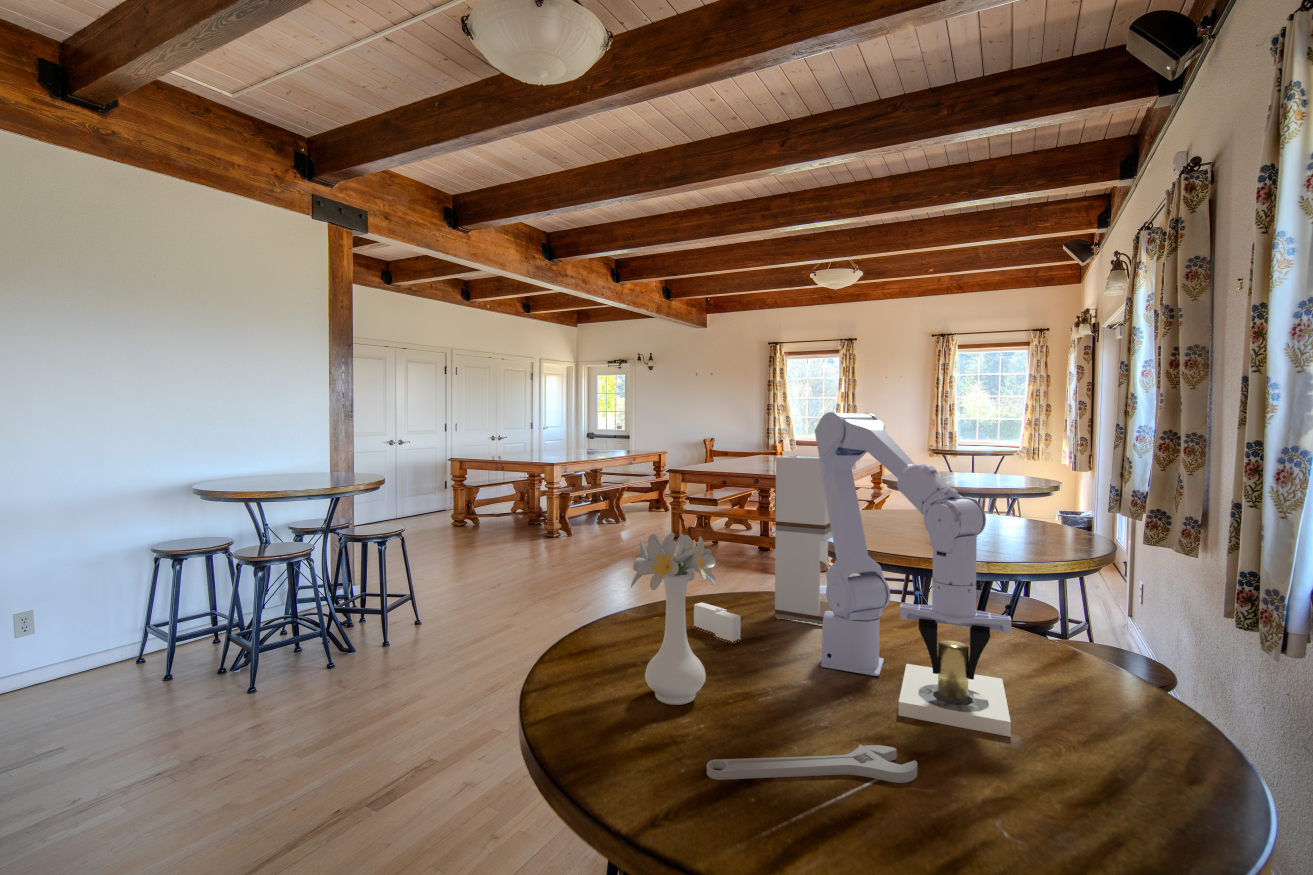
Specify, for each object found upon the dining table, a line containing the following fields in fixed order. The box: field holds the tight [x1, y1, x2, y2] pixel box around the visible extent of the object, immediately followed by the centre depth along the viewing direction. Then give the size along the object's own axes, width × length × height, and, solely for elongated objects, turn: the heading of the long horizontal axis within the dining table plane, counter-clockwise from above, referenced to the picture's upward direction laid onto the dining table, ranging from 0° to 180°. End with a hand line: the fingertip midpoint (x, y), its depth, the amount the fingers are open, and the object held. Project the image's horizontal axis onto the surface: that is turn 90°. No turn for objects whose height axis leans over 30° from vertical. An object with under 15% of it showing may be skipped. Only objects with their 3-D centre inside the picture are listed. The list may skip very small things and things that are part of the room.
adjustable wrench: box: [706, 744, 918, 784], centre depth 75 cm, size 25×6×2 cm, turn 89°
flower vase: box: [630, 532, 718, 706], centre depth 95 cm, size 13×18×25 cm
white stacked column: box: [774, 454, 833, 624], centre depth 136 cm, size 11×11×35 cm
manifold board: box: [898, 663, 1012, 738], centre depth 93 cm, size 14×16×5 cm
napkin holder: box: [693, 602, 742, 642], centre depth 123 cm, size 15×11×6 cm
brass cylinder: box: [937, 639, 970, 699], centre depth 90 cm, size 4×4×7 cm
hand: (953, 674), depth 90 cm, fingers closed on brass cylinder, 4 cm apart
